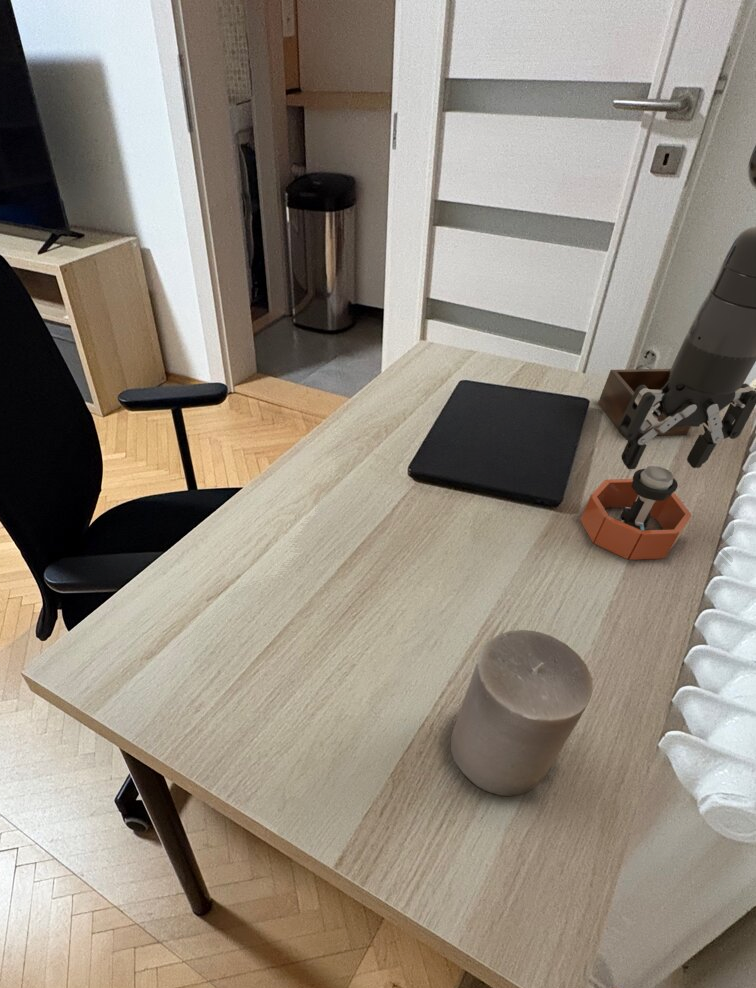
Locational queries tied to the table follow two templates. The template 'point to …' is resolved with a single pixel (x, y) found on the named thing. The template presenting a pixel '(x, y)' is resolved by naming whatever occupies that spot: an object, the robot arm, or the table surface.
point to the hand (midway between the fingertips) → (660, 465)
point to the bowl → (626, 537)
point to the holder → (623, 388)
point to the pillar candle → (519, 711)
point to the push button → (648, 494)
